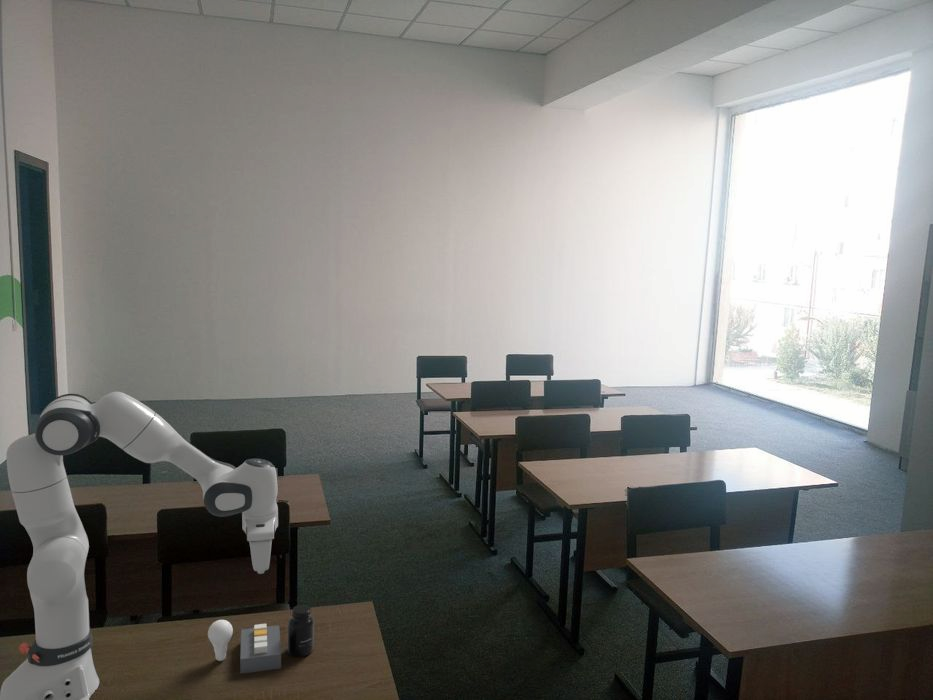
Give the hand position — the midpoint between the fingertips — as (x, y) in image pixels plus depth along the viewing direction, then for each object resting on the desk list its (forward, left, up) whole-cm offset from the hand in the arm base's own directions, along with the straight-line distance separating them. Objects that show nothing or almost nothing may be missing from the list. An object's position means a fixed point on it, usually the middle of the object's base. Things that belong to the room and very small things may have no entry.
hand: (261, 571), depth 182 cm
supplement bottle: (+8, -6, -24) cm, 26 cm away
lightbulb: (-8, +6, -24) cm, 26 cm away
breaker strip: (+2, +3, -24) cm, 24 cm away
